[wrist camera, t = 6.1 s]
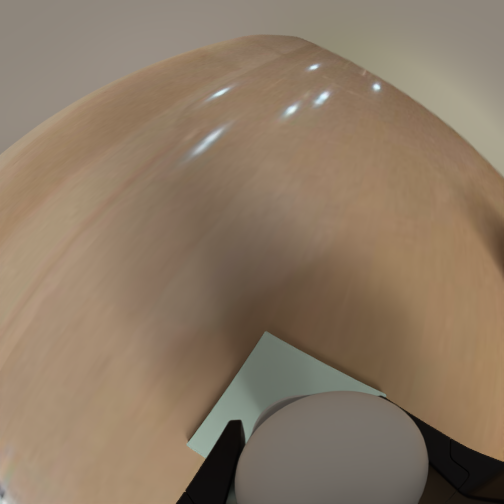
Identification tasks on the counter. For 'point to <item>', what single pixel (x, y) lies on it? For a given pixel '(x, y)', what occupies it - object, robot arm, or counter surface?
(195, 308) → the counter surface
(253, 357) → the coaster
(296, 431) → the cylinder
